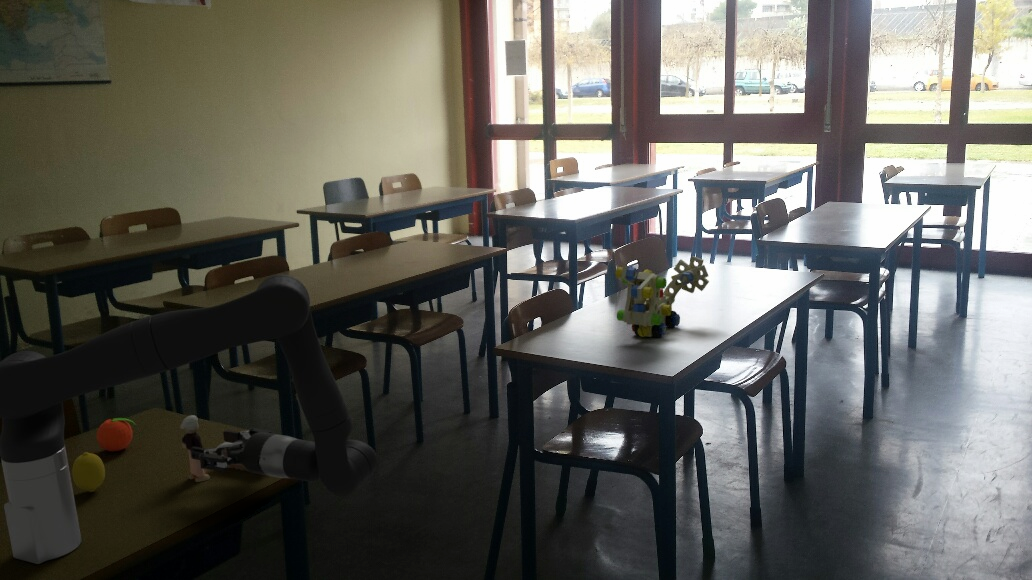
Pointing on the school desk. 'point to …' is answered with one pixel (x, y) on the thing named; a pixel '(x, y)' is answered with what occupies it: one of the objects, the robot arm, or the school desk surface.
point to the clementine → (115, 434)
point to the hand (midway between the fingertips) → (208, 443)
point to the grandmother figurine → (191, 441)
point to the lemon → (88, 471)
